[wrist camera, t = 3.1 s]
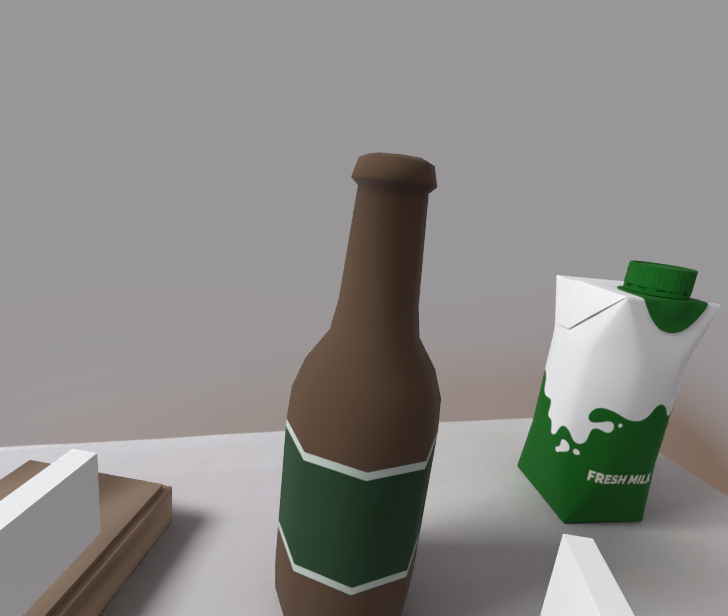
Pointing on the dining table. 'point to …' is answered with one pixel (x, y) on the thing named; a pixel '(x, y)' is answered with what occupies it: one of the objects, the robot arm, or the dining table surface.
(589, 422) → the milk carton
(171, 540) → the dining table surface
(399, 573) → the beer bottle
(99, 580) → the plinth
